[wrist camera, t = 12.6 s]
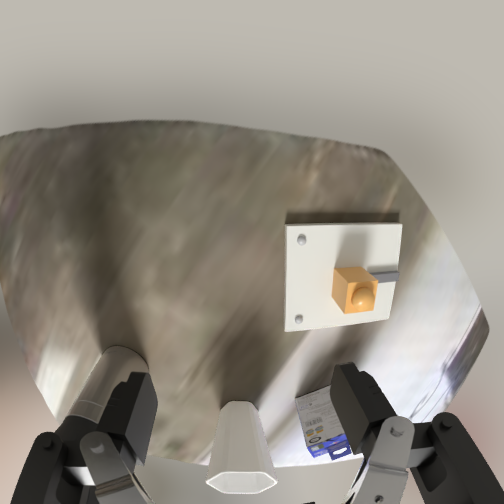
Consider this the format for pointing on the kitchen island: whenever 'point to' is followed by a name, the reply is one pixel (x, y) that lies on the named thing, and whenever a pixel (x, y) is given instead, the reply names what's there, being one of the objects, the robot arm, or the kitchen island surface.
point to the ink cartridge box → (321, 424)
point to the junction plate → (336, 256)
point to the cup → (240, 452)
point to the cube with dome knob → (354, 289)
